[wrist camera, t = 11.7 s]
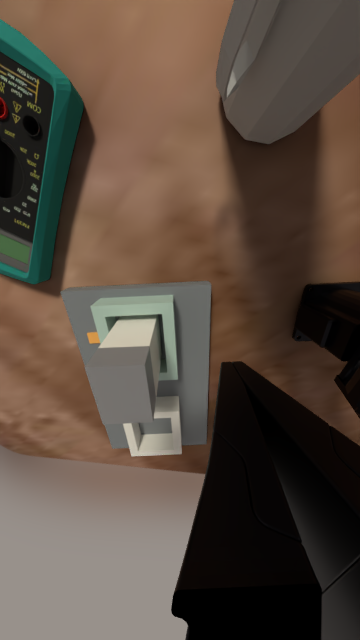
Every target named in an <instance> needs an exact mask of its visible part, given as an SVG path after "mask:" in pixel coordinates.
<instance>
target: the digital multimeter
mask: <svg viewBox="0 0 360 640" xmlns="http://www.w3.org/2000/svg"><path fill="white" fill-rule="evenodd" d="M6 55H7V56H6ZM9 57H10V58H9ZM17 62H18V63H17ZM20 64H21V65H20ZM25 67H26V68H25ZM28 69H29V70H28ZM31 71H32V72H31ZM53 100H54V102H53ZM52 107H53V109H52ZM83 109H84V105H83V101H82V98H81V97H80V95H79V94H78V92H77V91H76V89H75V88H74V86H73V85H72V83H71V82H70V80H69V79H68V78H67V77H66V76H65V75H64V74H63V73H62V72H61V70H60V69H59V68H58V67H57V66H56V65H55V64H54V63H53V62H52V61H51V60H50V59H49V58H48V57H47V56H46V55H45V54H44V53H43V52H42V51H41V50H39V49H38V48H37V47H36V46H35V45H34V44H33V43H32V42H30V41H29V40H28V39H27V38H26V37H25V36H24V35H23V34H21V33H20V32H19V31H17V30H16V29H14V28H13V27H11V26H10V25H8V24H7V23H5V22H4V21H2V20H1V19H0V273H1V274H4V275H6V276H9V277H12V278H15V279H18V280H21V281H24V282H27V283H30V284H37V283H40V282H43V281H46V280H49V279H50V276H51V268H52V261H53V253H54V246H55V238H56V232H57V226H58V221H59V215H60V209H61V203H62V198H63V193H64V188H65V184H66V179H67V175H68V171H69V166H70V162H71V157H72V153H73V149H74V145H75V141H76V137H77V133H78V129H79V125H80V121H81V117H82V113H83ZM51 114H52V116H51ZM50 120H51V123H50ZM49 127H50V130H49ZM4 139H5V140H4ZM12 147H13V148H12ZM46 148H47V150H46ZM45 155H46V157H45ZM44 162H45V164H44ZM43 168H44V171H43ZM42 175H43V178H42ZM41 182H42V185H41ZM40 189H41V192H40ZM39 196H40V199H39ZM38 203H39V205H38ZM37 209H38V212H37ZM36 216H37V219H36ZM35 223H36V226H35ZM34 230H35V232H34ZM33 237H34V239H33Z"/></svg>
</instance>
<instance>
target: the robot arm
mask: <svg viewBox="0 0 360 640" xmlns="http://www.w3.org/2000/svg"><path fill="white" fill-rule="evenodd" d="M310 288H312V289H311V290H310ZM309 290H310V291H309ZM297 336H299V337H297ZM292 338H293V339H294V340H295V341H313V342H315V343H316V344H317V345H319V346H320V347H322V348H325V349H326V350H328V351H329V352H330V353H332V354H333V355H334V356H336V357H337V358H338V359H340V360H341V361H348V362H347V364H346V365H345V367H344V368H343V370H342V371H341V373H340V374H339V375H337V376H336V377H335V379H334V381H335V383H336V384H337V386H338V387H339V389H340V390H341V392H342V393H343V394H344V396H345V397H346V399H347V400H348V402H349V403H350V405H351V406H352V408H353V409H354V411H355V412H356V414H357V415H358V417H359V418H360V282H341V283H320V284H308V285H307V286H306V287H305V289H304V292H303V296H302V300H301V304H300V306H299V310H298V314H297V318H296V322H295V328H294V332H293V336H292ZM171 611H172V614H173V615H174V616H175V617H178V618H182V619H183V620H184V621H186V622H187V624H188V629H187V634H186V640H360V446H359V445H357V444H356V443H355V442H353V441H352V440H350V439H349V438H347V437H346V436H345V435H343V434H342V433H340V432H339V431H338V430H336V429H335V428H333V427H332V426H329V424H328V423H326V422H325V421H324V420H322V419H321V418H319V417H318V416H317V415H315V414H314V413H313V412H311V411H310V410H308V409H307V408H306V407H304V406H303V405H301V404H300V403H299V402H297V401H296V400H295V399H293V398H292V397H290V396H289V395H288V394H286V393H285V392H283V391H282V390H281V389H279V388H278V387H277V386H275V385H274V384H272V383H271V382H270V381H268V380H267V379H265V378H264V377H263V376H261V375H260V374H259V373H257V372H256V371H254V370H253V369H252V368H250V367H249V366H247V365H246V364H245V363H243V362H241V361H236V362H232V363H231V362H222V363H221V368H220V376H219V385H218V393H217V401H216V409H215V418H214V426H213V433H212V441H211V448H210V455H209V461H208V466H207V470H206V474H205V479H204V483H203V487H202V491H201V495H200V499H199V502H198V506H197V510H196V514H195V518H194V522H193V525H192V530H191V533H190V537H189V541H188V544H187V548H186V552H185V556H184V560H183V563H182V567H181V571H180V574H179V578H178V581H177V585H176V588H175V591H174V595H173V601H172V609H171Z"/></svg>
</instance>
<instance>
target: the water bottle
mask: <svg viewBox="0 0 360 640" xmlns="http://www.w3.org/2000/svg"><path fill="white" fill-rule="evenodd" d="M359 74H360V0H234V3H233V6H232V9H231V13H230V16H229V19H228V23H227V26H226V29H225V33H224V36H223V39H222V43H221V49H220V54H219V60H218V66H217V71H216V86H217V88H218V90H219V92H220V95H221V97H222V101H223V105H224V110H225V114H226V118H227V119H228V120H229V122H230V123H231V124H232V125H233V126H234V127H235V129H236V130H237V131H238V132H239V133H240V135H241V136H242V137H243V138H244V139H245V140H250V141H255V142H260V143H266V144H271V143H273V142H275V141H277V140H279V139H281V138H283V137H285V136H287V135H289V134H291V133H293V132H295V131H296V130H297V129H298V128H299V127H300V126H302V125H303V124H304V123H305V122H306V121H307V120H308V119H309V118H311V117H312V116H313V115H314V114H315V113H316V112H317V111H318V110H320V109H321V108H322V107H323V106H324V105H325V104H326V103H327V102H329V101H330V100H331V99H332V98H333V97H334V96H335V95H336V94H338V93H339V92H340V91H341V90H342V89H343V88H344V87H345V86H346V85H348V84H349V83H350V82H351V81H352V80H353V79H354V78H355V77H357V76H358V75H359Z"/></svg>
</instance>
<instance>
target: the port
mask: <svg viewBox="0 0 360 640" xmlns="http://www.w3.org/2000/svg"><path fill="white" fill-rule="evenodd" d="M90 307H91V311H92V314H93V318H94V322H95V325H96V329H97V333H98V337H99V340H100V344H101V343H102V342H103V340H104V339H105V338H106V336H107V335H108V333H109V332H110V331H111V329H112V328H113V326H114V325H115V323H116V319H115V316H131V315H152V314H162V319H163V330H164V341H165V352H166V359H161V364H160V372H159V380H158V381H161V380H178V362H177V346H176V329H175V313H174V297H173V295H157V296H136V297H115V298H100V299H99V300H98V301H96V302H95V303H94V304H93V305H91V306H90Z"/></svg>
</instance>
